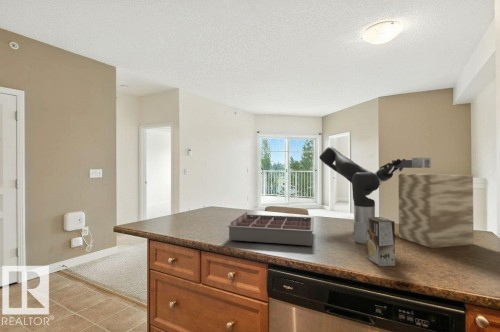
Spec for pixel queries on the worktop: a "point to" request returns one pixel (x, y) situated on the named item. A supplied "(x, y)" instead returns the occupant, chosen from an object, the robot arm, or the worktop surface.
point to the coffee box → (380, 241)
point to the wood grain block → (436, 209)
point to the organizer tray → (272, 229)
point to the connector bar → (415, 163)
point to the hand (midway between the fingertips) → (402, 160)
